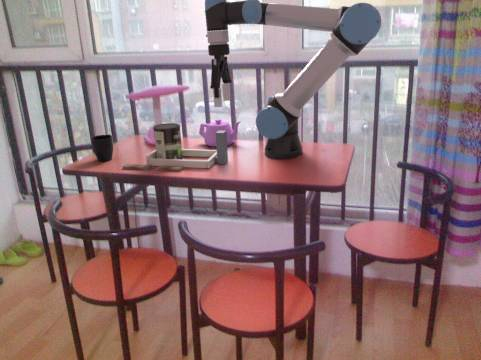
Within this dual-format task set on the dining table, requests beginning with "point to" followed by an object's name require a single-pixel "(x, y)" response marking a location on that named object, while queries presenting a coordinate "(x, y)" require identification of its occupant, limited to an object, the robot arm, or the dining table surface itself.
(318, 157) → the dining table surface
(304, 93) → the robot arm
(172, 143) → the coffee can
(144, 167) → the broken strip
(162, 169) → the broken strip
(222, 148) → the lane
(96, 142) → the mug
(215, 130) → the teapot
